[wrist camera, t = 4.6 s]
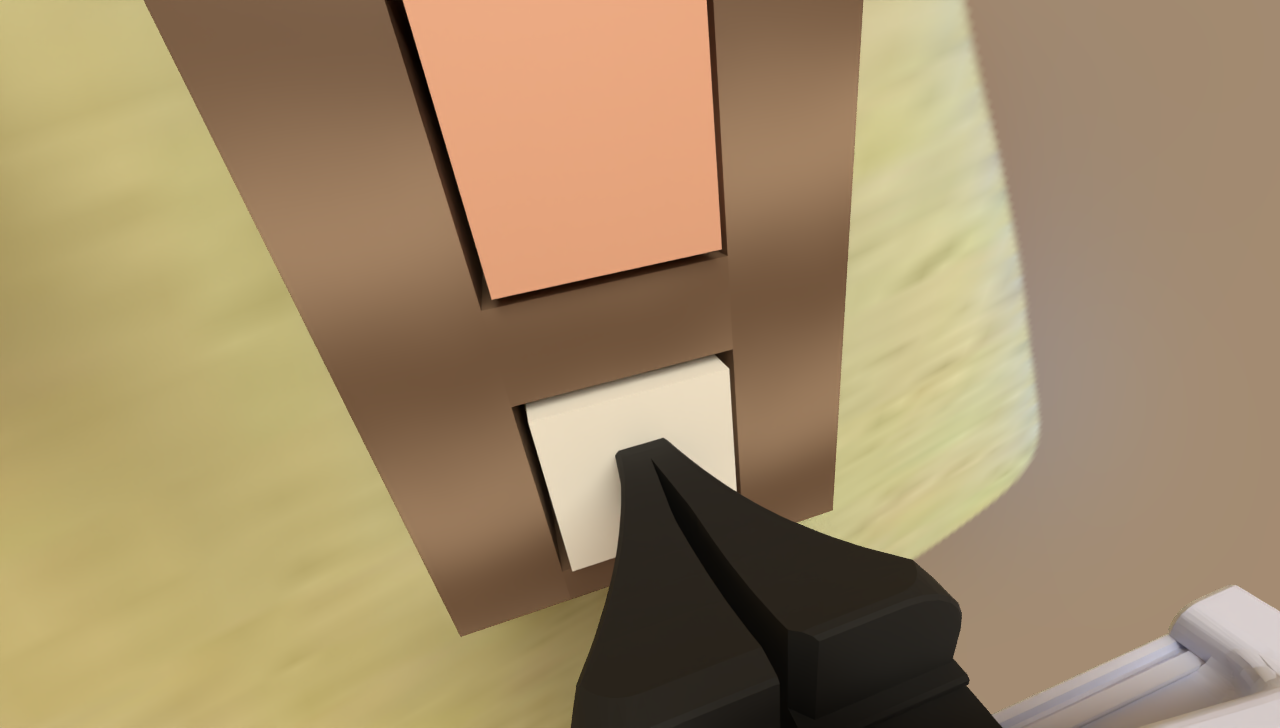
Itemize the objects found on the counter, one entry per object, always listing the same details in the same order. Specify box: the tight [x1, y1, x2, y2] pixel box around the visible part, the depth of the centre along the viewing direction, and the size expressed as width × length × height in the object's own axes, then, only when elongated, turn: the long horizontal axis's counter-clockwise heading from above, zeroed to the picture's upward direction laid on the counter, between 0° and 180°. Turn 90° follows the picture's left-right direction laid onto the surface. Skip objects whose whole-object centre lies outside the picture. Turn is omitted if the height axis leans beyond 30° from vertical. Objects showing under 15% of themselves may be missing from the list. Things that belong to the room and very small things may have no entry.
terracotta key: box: [403, 0, 722, 300], centre depth 10 cm, size 5×5×2 cm
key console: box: [144, 0, 863, 637], centre depth 13 cm, size 16×12×4 cm
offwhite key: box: [526, 354, 737, 572], centre depth 14 cm, size 5×5×2 cm
